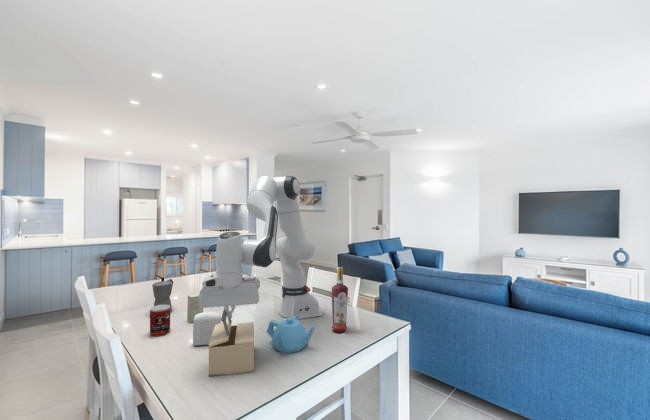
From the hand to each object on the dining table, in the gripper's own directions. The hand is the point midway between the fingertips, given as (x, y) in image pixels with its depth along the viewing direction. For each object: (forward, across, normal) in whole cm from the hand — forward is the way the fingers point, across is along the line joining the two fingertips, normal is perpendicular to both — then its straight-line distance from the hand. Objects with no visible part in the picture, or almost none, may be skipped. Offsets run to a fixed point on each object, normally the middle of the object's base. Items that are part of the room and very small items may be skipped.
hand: (229, 317), depth 105 cm
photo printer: (+15, +10, -16) cm, 24 cm away
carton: (+15, -1, 0) cm, 15 cm away
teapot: (+16, -22, -7) cm, 28 cm away
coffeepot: (+16, +36, -59) cm, 71 cm away
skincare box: (+16, +18, -43) cm, 49 cm away
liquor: (+16, -45, -16) cm, 51 cm away
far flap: (+5, +2, 0) cm, 6 cm away
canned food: (+15, +31, -31) cm, 46 cm away
